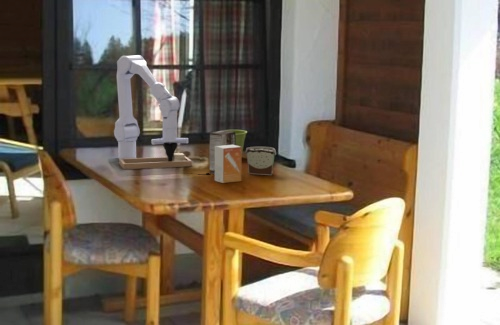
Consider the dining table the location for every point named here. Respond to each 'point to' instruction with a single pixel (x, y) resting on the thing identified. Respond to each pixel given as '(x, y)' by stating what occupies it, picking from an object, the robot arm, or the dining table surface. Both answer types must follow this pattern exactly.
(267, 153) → the food container
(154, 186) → the dining table surface
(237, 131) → the plant pot
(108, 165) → the dining table surface
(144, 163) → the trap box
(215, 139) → the coffee box
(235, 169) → the small box
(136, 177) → the dining table surface
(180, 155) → the birch cube
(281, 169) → the dining table surface
